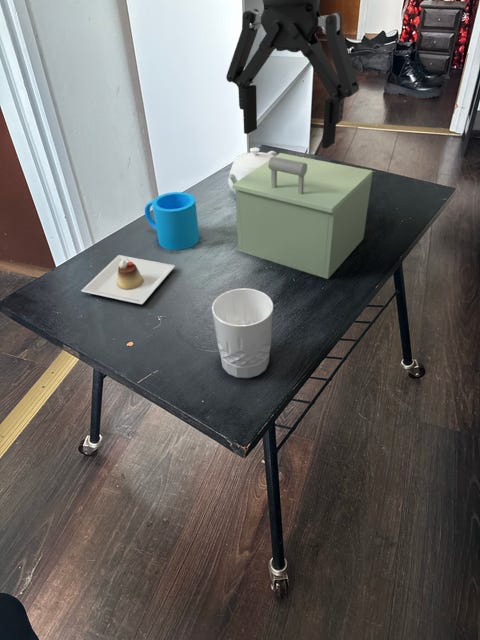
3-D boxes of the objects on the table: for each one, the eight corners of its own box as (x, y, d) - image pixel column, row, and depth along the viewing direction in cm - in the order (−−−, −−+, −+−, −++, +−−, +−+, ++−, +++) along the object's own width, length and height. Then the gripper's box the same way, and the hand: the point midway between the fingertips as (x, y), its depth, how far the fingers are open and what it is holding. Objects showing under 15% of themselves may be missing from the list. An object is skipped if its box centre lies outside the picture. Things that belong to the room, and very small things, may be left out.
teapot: (256, 217, 100) (254, 171, 94) (207, 205, 106) (203, 160, 99) (298, 182, 113) (299, 138, 106) (253, 172, 118) (252, 131, 112)
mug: (207, 235, 95) (203, 197, 90) (182, 254, 90) (177, 215, 85) (161, 221, 101) (155, 185, 95) (135, 239, 95) (127, 201, 90)
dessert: (176, 270, 86) (172, 247, 83) (143, 309, 78) (138, 285, 74) (119, 259, 90) (114, 237, 87) (82, 296, 81) (74, 273, 78)
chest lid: (332, 213, 73) (335, 177, 69) (232, 188, 81) (230, 155, 78) (372, 175, 83) (376, 141, 80) (280, 156, 92) (280, 125, 88)
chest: (328, 279, 82) (334, 211, 74) (238, 251, 90) (235, 187, 82) (363, 239, 92) (372, 175, 83) (279, 217, 100) (280, 157, 92)
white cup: (283, 354, 68) (284, 298, 62) (254, 390, 63) (252, 333, 57) (236, 336, 72) (233, 281, 65) (206, 368, 67) (199, 313, 60)
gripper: (194, -31, 63) (208, 132, 76) (376, -31, 52) (354, 160, 65) (227, -36, 67) (234, 119, 81) (399, -37, 56) (374, 143, 70)
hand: (287, 138), depth 73 cm, fingers open, 13 cm apart
